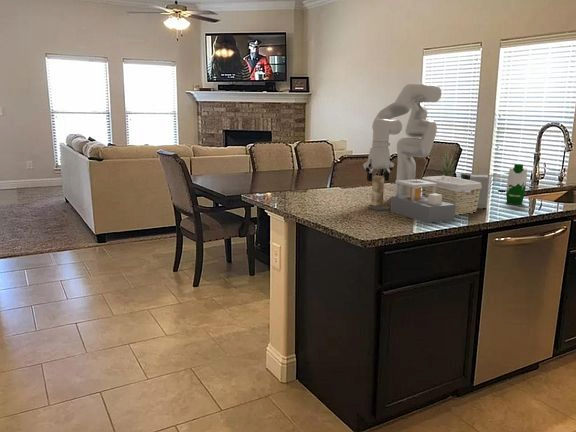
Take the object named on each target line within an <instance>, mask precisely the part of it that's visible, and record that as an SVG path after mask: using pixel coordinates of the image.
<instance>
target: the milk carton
mask: <svg viewBox="0 0 576 432" xmlns="http://www.w3.org/2000/svg"><path fill="white" fill-rule="evenodd" d="M507 175H508V176H507V181H506V182H507V184H506V192H505V193H506V196H505V197H506V204H507V203H512V204H511V205H519V204H521V205H522V204H523V201H524V198H525V194H526V187H527V176H528V170H527V168H526V167H524V164H523V163H521V164H520V163H514V166H513V167H512V166H510V167H509V171H508V174H507Z"/></svg>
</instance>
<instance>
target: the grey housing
mask: <svg viewBox="0 0 576 432" xmlns="http://www.w3.org/2000/svg"><path fill="white" fill-rule="evenodd" d="M396 180H397V179H396ZM396 180H395V182H394V183H395V194H396V196H393V195H391V198H390V210H389V211H390V212H391V213H394V214H397V213H398V215H400V214H401V216H403V217H408V218H410V219H413V220H416V221H419V220H420V221H419V222H422V221H423V223H425V222H426V224H433V223H432V222H437V223H441V222H440V221H447V222H453V221H452V220H454V221H455V216H456V215H455V204H451V203H447V202H443V201H442V203H441V204H440V205H432V204H428V198H427V197H423V196H422V195H421V197H420V200H414V199H415V187H421V188H422V187H423V186H433V189H432V194H435V187H436V186H437V183H433V182H429V181H424V180H422V179H418V178H415V180H397V181H396ZM396 183H397V185H396ZM399 184H403V185H407V186H411V187H412V200H411V199H409V197H410V195H404V196H399Z"/></svg>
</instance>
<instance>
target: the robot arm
mask: <svg viewBox="0 0 576 432" xmlns="http://www.w3.org/2000/svg"><path fill="white" fill-rule="evenodd" d="M441 96H442V89H441V87H440V86H439V85H435V84H430V83H421V82H420V83H418V82H417V83H407V84H405V86H404V87H403V88H402V89H401V91H400V93H399V94H398V96H397V97H396V99H395V101H394V102H392V103H391V104H388V105H387V106H386V107H384V108H383V109H381V110H380V111H379V112H378V113H377V115H376V116H375V118H374V119H373V122H372V141H371V143H372V146H371V147H370V149H369V153H368V158H367V161H366V162H364V163H363V168H364V170H365V172H366V181H367V182H373V173H372V172H373V171H374V170H384V172H383V177H384V182H385V181H386V182H389V181H390V180H389V179H390V173H391V172H392V171H393V169H394V166H395V163H394V162H392V161H391V160H390V157H391V156H390V155H391V154H390V149H389V146H391V143H390V142H389V139H390V136H391V135H392V136H394V135H398V134H400V133H401V131H402V130H403V124H402V121H401V120H399V119H396V118H397V117H401V116H404V115H406V114H408V113H409V112H410V114H409V118H408V121H407V123H406V127H405V130H404V132H405V135H406V137H402V138H400V139H399V140H398V141H397V143H396V153H397V154H396V155H397V166H396V167H397V168H396V180H395V181H397V180H415V179H416V171H417V170H416V169H417V164H416V161H415V159H414V158H415V157H416V158H426V157H428V156H429V155H430V154H431V151H432V147H433V145H434V142H435V138H436V135H437V130H438V128H437V127H438V126H437V123H436V121H434V120H432V119H427V116H428V111H427V108H426V106H425V105H424V104H423V103H437V102H438V101H440V99H441V98H442V97H441ZM396 185H397V183H395V186H396ZM410 187H411V186H407V185H403V184H399V196H404V195H410ZM392 196H396V193H393V194H392Z"/></svg>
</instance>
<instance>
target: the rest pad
mask: <svg viewBox="0 0 576 432" xmlns="http://www.w3.org/2000/svg"><path fill="white" fill-rule="evenodd" d="M368 209H370V210H373V211H376V212H384V211H390V210H391V208H389V207H385V206H368Z"/></svg>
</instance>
